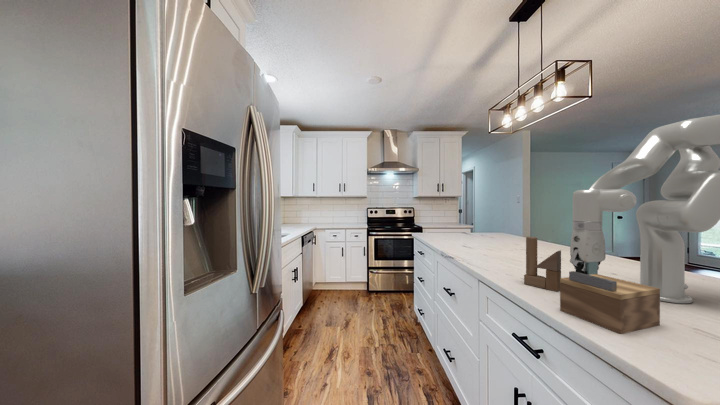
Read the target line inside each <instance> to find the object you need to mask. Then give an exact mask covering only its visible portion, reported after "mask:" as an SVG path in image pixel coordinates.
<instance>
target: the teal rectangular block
mask: <svg viewBox="0 0 720 405" xmlns="http://www.w3.org/2000/svg"><path fill="white" fill-rule="evenodd" d="M579 260H580V261H583V260H581V259H579ZM579 263H580V264H581V265H582V263H581V262H579ZM574 271H575V272H576V270H574ZM586 271H587V275H592V274H597V262H590V263H587V266H586Z"/></svg>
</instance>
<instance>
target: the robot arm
mask: <svg viewBox="0 0 720 405" xmlns="http://www.w3.org/2000/svg"><path fill="white" fill-rule="evenodd" d="M715 145H720V114H715V115H708V116H702V117H695V118H688V119H685V120H680V121H677V122H673V123H669V124H665V125H661V126H658V127H655V128H654V129H652V130H651V131H649V133H647V134H646V136H645V137H644V138H643V140H642V141H640V143H639V144H638V145H637V146H636V147H635V149H633V151H632V152H631V153H630V154H629V155H628V157H627V158H626V159H625V160H623V162H621V163H619V164H618V165H616V166H614V167H612V169H610V170H608V171H607V172H605V173H604V174H602V175H601V176H600V177H599V178H598V179H596V180H595V181H594V182H593V183H592V185H590V187H589V188H588V189H576V190H575V191H574V192H573V194H572V228H571V229H572V234H571V238H570V250H569V251H570V252H569V254H570V259H569V263H571V265H572V266H573V267H574V270H575V271H576V272H579V273H583V274H587V271H586V266H587V263H590V262H597V274H598V273H599V272H598V271H599V269H600V264H601V263H602V262H604V261H605V260H606V257H607V256H606V254H607V253H606V241H605V236H604V232H603V212H609V213H610V212H611V213H623V212H628V211H630V210H632V209H633V208H634V207H635V206H636V204H637V202H638V201H637V200H638V199H637V197H636V195H635V194H634V192H632V191H629V190H628V189H623V188H624V187H626V186H628V185H630V184H633V183H635V182H639V181H642V180H644V179H647V178H650V177H652V176H653V175H656V174H657V173H658V172H659V171H660V169H661V168H662V167H663V166H664V165H665V164H666V163H667V161H668V160H669V159H670V158H671V157H672V156H673V155H674V154H675V152H676V151H678V152H679V155H680V159H679V162H678V163H677V165H676V166H675V167H674V169H673V170H672V171H671V173H670V174H669V175H668V177H667V178H666V180H665V181H664V182H663V184H662V186H661V188H660V195H661V196H662V197H663V200H662V199H661V200H660V199H659V200H658V199H657V200H651V201H646V202H644V203H642V204H641V205H640V206H639V207H638V208H637V210H636V214H635V217H636V221H637V225H638V228H639V236H640V237H639V238H640V240H639V241H640V250H639V251H640V254H639V255H640V259H639V262H640V265H639V268H640V270H639V271H640V272H639V273H640V274H639V276H640V278H639V279H640V283H639V284H642V285H646V286H651V287H655V288H659V289H660V293H659V294H660V302H664V303H665V302H666V303H674V304H692V303H693V297H691V296H690V295H688V294H685V293H686V292H685V290H688V288H689V286H688V284H687V283H685V279H686V278H685V277H686V276H685V273H686V272H685V271H686V270H685V267H686V266H685V265H686V264H685V262H686V260H685V255H686V254H685V252H686V248H685V247H686V245H685V241H684V239H683V237H682V235H681V234H680V233H679V232H684V233H704V232H707V231H709V230H710V229H713V228H714V227H715V226H716V225H717V223H719V221H720V170H719V169H720V157H719V155H717V153H716V152H715V151H714V150H713V148H712V147H711V146H715ZM665 199H666V200H665ZM579 259H581V260H583V261H580V260H579ZM579 262H581V263H582V265H581V264H580V263H579Z"/></svg>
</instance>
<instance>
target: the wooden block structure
mask: <svg viewBox="0 0 720 405" xmlns="http://www.w3.org/2000/svg"><path fill="white" fill-rule="evenodd" d="M538 269H542V270H545V276H543V275H538ZM561 270H562V250H557V251H555V252H554V253H552V254H551V255H550V256H548V257H547V258H546V259H544V260H543V261H540V262H539V263H538V237H537V236H526V237H525V274H523V284H524V285H527V286H532V287H537V288H540V289H544V290H545V289H546V291H547V290H549V291H552V292H556V293H557V292H560V278H562V271H561Z"/></svg>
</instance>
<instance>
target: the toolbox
mask: <svg viewBox="0 0 720 405" xmlns="http://www.w3.org/2000/svg"><path fill="white" fill-rule="evenodd" d="M559 310H560V312H563V313H566V314H569V315H571V316H573V317H576V318H579V319H581V320H583V321H586V322H588V323H592V324H594V325H596V326H599V327H602V328H605V329H607V330H609V331H612V332H615V333H617V334H620V335H622V334H623V335H624V334H626V333H631V332H635V331H640V330H644V329H648V328H653V327H658V326H660V323H661V301H660V294H653V295H647V296H641V297H635V298H630V299H624V300H619V299H615V298H612V297H608V296H605V295H601V294H598V293H595V292H591V291H588V290H584V289H581V288H577V287H574V286H571V285H567V284H564V283H560V291H559Z"/></svg>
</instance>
